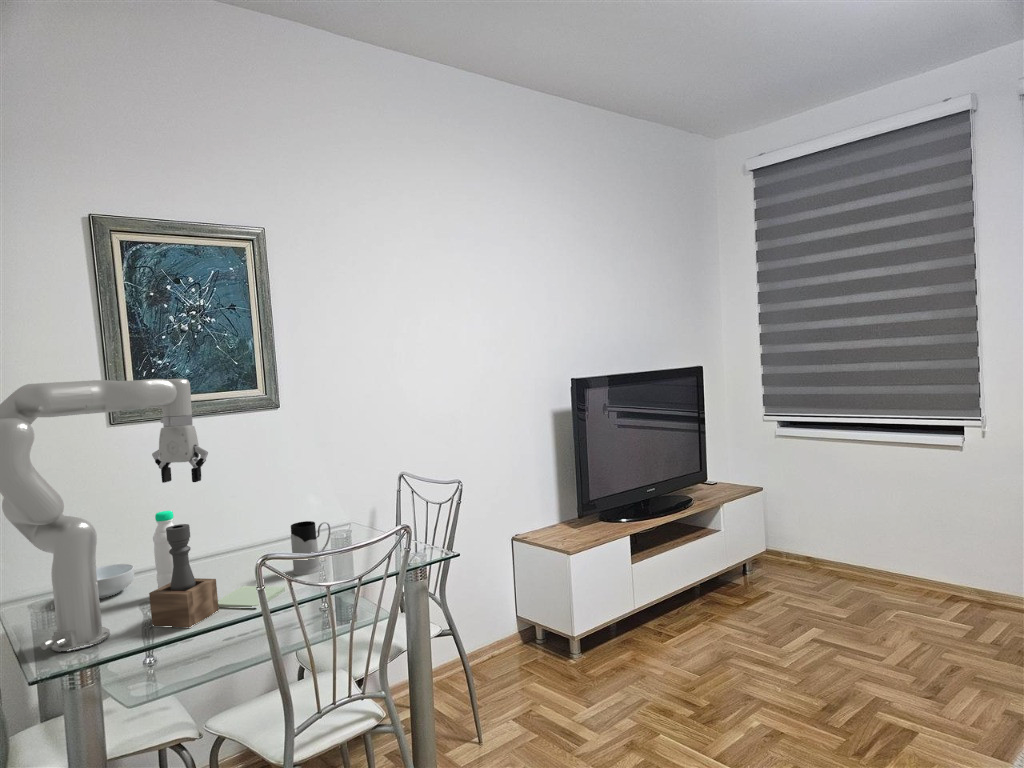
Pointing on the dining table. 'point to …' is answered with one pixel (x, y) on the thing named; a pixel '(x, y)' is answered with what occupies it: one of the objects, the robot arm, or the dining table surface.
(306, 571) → the gray black mug
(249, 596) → the sage mat
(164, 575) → the water bottle
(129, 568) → the cereal bowl
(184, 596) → the walnut sleeve
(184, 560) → the candle holder
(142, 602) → the dining table surface
